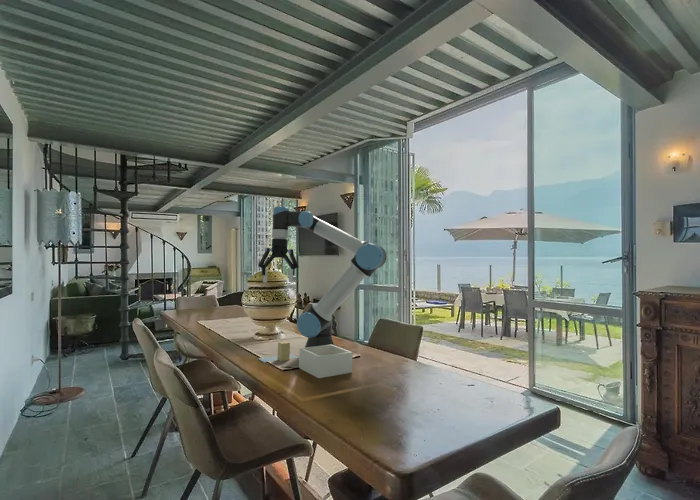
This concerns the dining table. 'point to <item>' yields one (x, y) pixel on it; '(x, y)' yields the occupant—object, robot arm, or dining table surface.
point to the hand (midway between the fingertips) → (278, 282)
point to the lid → (280, 353)
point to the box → (325, 360)
